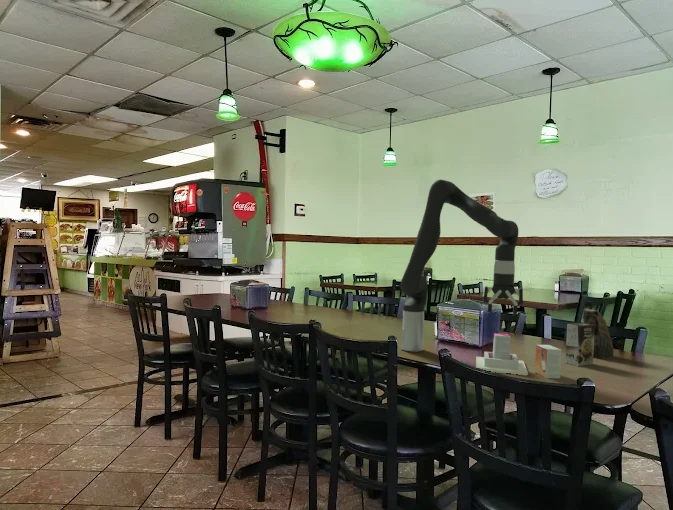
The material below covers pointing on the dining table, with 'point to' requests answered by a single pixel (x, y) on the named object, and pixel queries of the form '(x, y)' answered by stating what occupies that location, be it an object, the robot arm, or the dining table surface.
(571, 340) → the coffee box
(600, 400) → the dining table surface
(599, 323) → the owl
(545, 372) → the small box
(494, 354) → the supplement box
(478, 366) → the collar socket
